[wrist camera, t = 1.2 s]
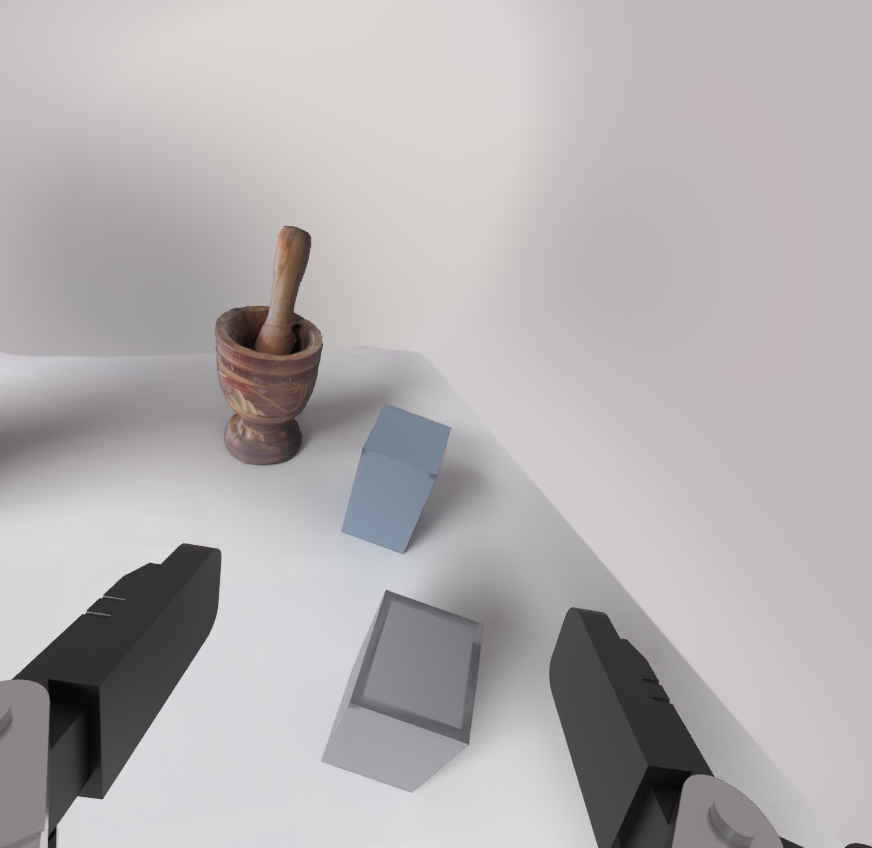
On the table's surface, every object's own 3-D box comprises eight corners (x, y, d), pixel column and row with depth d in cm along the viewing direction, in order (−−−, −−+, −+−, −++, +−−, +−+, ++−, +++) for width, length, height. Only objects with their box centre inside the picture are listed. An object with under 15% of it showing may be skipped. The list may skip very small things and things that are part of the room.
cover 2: (321, 761, 28) (349, 702, 21) (354, 663, 32) (385, 589, 26) (411, 792, 28) (468, 744, 21) (430, 691, 33) (483, 624, 26)
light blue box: (341, 531, 40) (363, 447, 33) (363, 485, 45) (385, 403, 38) (403, 553, 40) (437, 475, 34) (418, 505, 45) (451, 427, 38)
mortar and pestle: (218, 393, 49) (212, 205, 36) (299, 393, 52) (318, 223, 40) (219, 472, 41) (212, 269, 29) (313, 466, 45) (343, 285, 32)
